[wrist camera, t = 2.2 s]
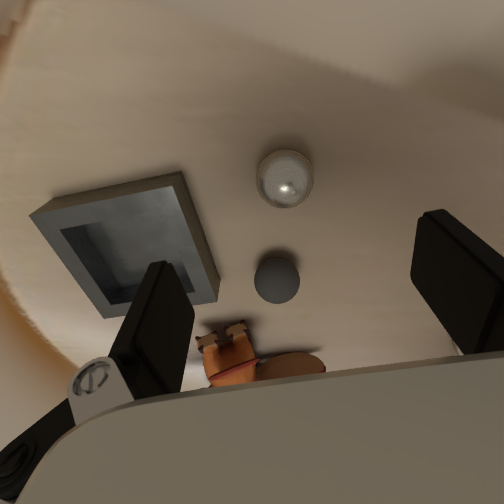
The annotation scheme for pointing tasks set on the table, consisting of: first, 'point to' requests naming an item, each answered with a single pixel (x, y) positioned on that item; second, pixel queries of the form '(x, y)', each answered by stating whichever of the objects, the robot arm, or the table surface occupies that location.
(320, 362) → the figurine
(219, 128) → the table surface
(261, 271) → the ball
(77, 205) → the square metal tray
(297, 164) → the steel ball
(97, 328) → the table surface
